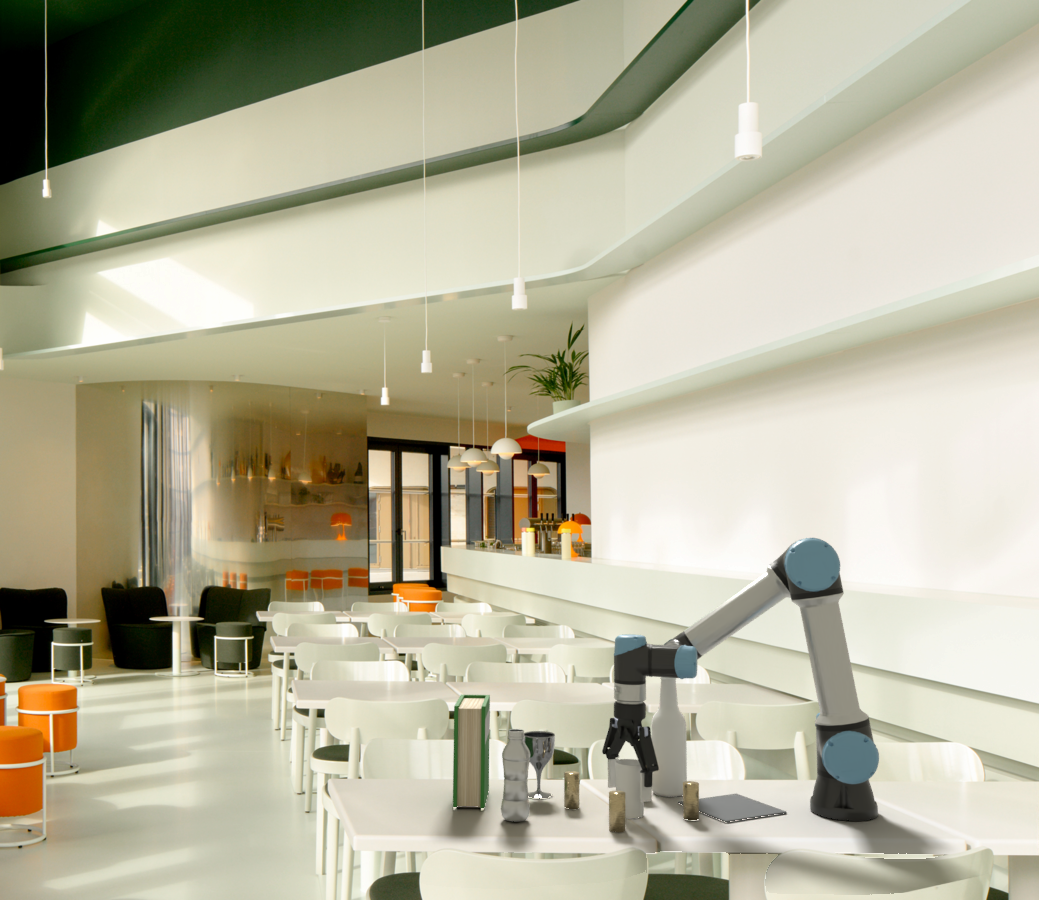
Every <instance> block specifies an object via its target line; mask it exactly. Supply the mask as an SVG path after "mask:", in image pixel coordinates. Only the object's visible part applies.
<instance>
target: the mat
mask: <svg viewBox="0 0 1039 900" xmlns="http://www.w3.org/2000/svg"><path fill="white" fill-rule="evenodd" d="M678 803H680V804H682V805H683V800H682V801H681V800H680V801H677V804H678ZM682 805H681V806H682ZM699 811H700V812H702V813H705V814H707V815H709V816H712V817H714V818H717V819H720V820H722V821H725V822H730V821H735V820H742V819H747V818H755V817H761V816H768V815H774V814H782V815H784V814H783V813H788V812H787V810H784V809H780V808H777V807H776V806H775V807H774V806H772V805H769V804H767V803H764V802H760V801H759V800H756V799H752V798H750V797H747V796H744V795H741V794H739V793H731V794H730V793H729V794H724V795H715V796H709V797H702V798H699ZM709 816H708V817H709ZM714 818H713V819H714Z"/></svg>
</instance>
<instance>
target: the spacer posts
mask: <svg viewBox="0 0 1039 900" xmlns="http://www.w3.org/2000/svg"><path fill="white" fill-rule="evenodd" d="M563 773H564V774H563V776H564V777H563V778H564V779H563V785H564V786H563V787H564V788H563V789H564V790H563V792H564V793H563V795H564V796H563V798H564V799H563V802H564V803H563V808H564V807H566V808H569V809H576V810H578V808H579V809H580V772H579V771H575V770H573V771H571V770H570V771H569V770H568V771H565V772H563ZM699 799H700V783H699V782H697V781H693V780H691V781H690V780H687V781H685V782H683V796H682V801H683V806H682V811H683V812H682V813H683V814H682V816H683V817H682V818H684V819H688V820H697V819H699V820H700V813H699ZM569 809H568V810H569ZM684 819H683V820H684ZM626 829H627V828H626V818H625V792H623V791H616V790H609V792H608V831H609V832H611V833H615V834H617V833H618V834H621V833H625V832H626Z"/></svg>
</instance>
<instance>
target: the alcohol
mask: <svg viewBox="0 0 1039 900" xmlns="http://www.w3.org/2000/svg"><path fill="white" fill-rule="evenodd" d="M659 678H660V687H659V688H660V691H659V705H658V709H657V710H656V711H655V713H653V716H652V718H651V721H650V725H651V726H650V729H651V739H652V743H653V747H654V751H655V755H656V759H657V763H658V767H659V770H658V771H654V772H653V773H652V792H653V794H654V795H656V796H658V795H659V796H658V797H662V796H665V797H664V798H677V797H676V796H681V797H683V796H682V795H683V782H685V781H688V772H687V771H688V770H687V769H688V768H687V767H688V766H687V765H688V764H687V763H688V762H687V760H688V759H687V758H688V757H687V755H688V754H687V722H686V718H685V716H684V714H683V713H682V712H681V710H680V708H679V705H678V704H679V703H678V692H677V678H668V677H659Z"/></svg>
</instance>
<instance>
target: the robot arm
mask: <svg viewBox="0 0 1039 900" xmlns="http://www.w3.org/2000/svg"><path fill="white" fill-rule="evenodd" d="M834 548H835V547H833V546H832V545H831V544H830V543H828V542H827V541H825V540H822V539H821V538H816V537H806V538H801V539H798V540H795V541H794V542H793V543H791V544H790V545H789V546H788V547H787V548H786V550H784V552H782V554H781V555H779V557H777V558H775V560H774V561H773V562H770V564H768V565H767V568H766V572H764V573H763V574H762V575H760V576H759V577H757V578H756V579H755V580H753V581H752V582H750V583H749V584H748V585H746V586H745V587H743V588H741V590H739V591H737V593H735V594H733V595H732V596H731V597H730V598H728V599H726V600H725V601H723V602H722V603H720V604H719V605H718V606H717V607H715V608H714V609H712V610H711V611H709V612H708V613H707V614H705V615H704V616H703V617H701V618H700V619H698V620H696V622H694V623H692V625H690V626H688V627H687V628H686V629H684V630H683V631H682V632H680V633H679V634H677V635H676V636H674V637H673V638H671V639H669V640H668V641H666V642H665V643H664V644H650V643H647V638H646V636H645V635H641V634H631V633H629V634H619V635H617V636H616V637H615V639H614V652H613V682H614V683H613V684H614V686H613V687H614V688H613V699H614V700H615V701H614V702H613V717H610V718H609V725H608V730H607V733H606V737H605V740H604V743H603V747H602V751H601V753H602V754H603V755H605V757H606V759H607V788H609V789H611V788H616V775H615V761H617V760H620V758H619V757H620V752H621V750H622V749H623V747H624V745H625V744H626V743H628V744H629V745H630V746H631V747H632V748H633V750H634V753H635V755H636V758H637V760H638V761H639V763H640V766H641V768H642V770H641V771H640V802H644V803H645V802H652V801H653V800H652V799H653V798H652V794H653V793H652V792H653V791H652V773H653V772H654V771H658V770H659V767H658V763H657V759H656V755H655V751H654V747H653V743H652V739H651V726H643V725H642V723H643V720H645V719H646V717H647V715H646V714H647V713H646V712H647V706H646V703H645V701H646V700H647V680H646V679H647V677H650V678H652V677H655V678H657V677H658V678H661V677H668V678H676V679H680V680H684V679H695V678H696V677H697V675H698V660H699V659H700V658H702V657H703V656H704V655H707V654H708V653H709V652H710V651H713V649H714V648H715V647H717V646H719V645H720V644H721V643H723V642H724V641H726V640H727V639H729V638H730V637H731V636H733V635H734V634H736V633H737V632H738V631H740V630H741V629H743V628H744V627H746V626H748V625H749V624H750V623H752V622H753V621H754V620H756V619H757V618H759V617H760V616H761V615H763V614H765V613H766V612H767V611H769V610H770V609H772V608H773V607H774V606H776V605H777V604H779V603H780V602H781V601H783V600H785V599H786V598H788V599H790V600H791V602H792V603H794V605H795V604H796V605H797V606H798V607H799V610H800V614H801V615H800V616H801V622H802V626H803V631H804V636H805V640H806V646H807V652H808V656H809V662H810V666H811V672H812V678H813V681H814V687H815V692H816V697H817V698H816V699H817V702H818V708H819V712H818V713H816V716H815V721H814V722H815V723H814V726H815V736H816V737H815V740H816V744H815V745H816V780H815V784H814V785H813V787H814V788H813V792H812V796H810V799H809V807H810V809H809V810H810V811H811V812H812V813H813V812H814V813H813V814H815V815H817V814H818V815H817V816H820V815H821V816H820V817H823V818H826V817H827V818H826V819H831V818H832V820H837V819H838V820H840V821H846V820H849V822H861V821H862V822H864V820H865V821H871V820H874V819H877V818H878V816H879V807H878V803H877V801H876V799H875V796H874V791H873V790H872V786H871V782H870V779H871V778H872V777H873V776H874V775H875V774H876V771H877V770H878V766H879V763H880V753H879V749H878V748H877V745H876V744H875V742H874V737H873V731H872V727H871V726H872V725H871V722H870V717H869V714H868V713H866V712H865V711H863V710H862V709H861V708H860V704H859V699H858V693H857V688H856V683H855V679H854V674H853V668H852V664H851V659H850V652H849V649H848V643H847V638H846V633H845V629H844V623H843V619H842V614H841V609H840V602H839V601H840V600H841V598H842V597H843V595H844V588H843V583H842V577H841V574H840V571H841V560H840V557H839V555H838V553H837V551H836V550H835V549H834ZM870 819H871V820H870Z"/></svg>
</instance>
